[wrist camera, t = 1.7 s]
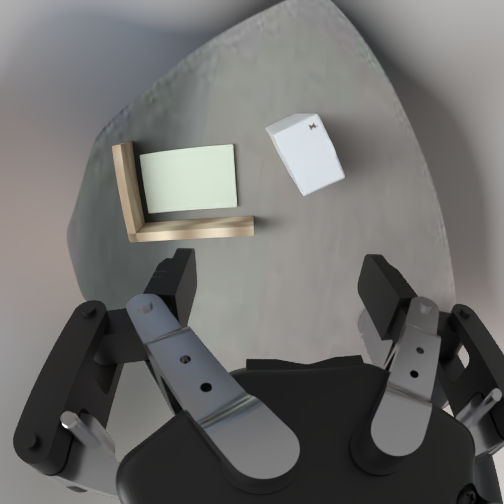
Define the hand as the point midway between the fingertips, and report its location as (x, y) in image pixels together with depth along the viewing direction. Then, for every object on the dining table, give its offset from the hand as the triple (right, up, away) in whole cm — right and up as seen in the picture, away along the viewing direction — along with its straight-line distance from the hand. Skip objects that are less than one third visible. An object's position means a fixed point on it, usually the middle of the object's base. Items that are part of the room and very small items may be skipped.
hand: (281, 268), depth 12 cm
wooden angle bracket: (-9, +10, +21) cm, 25 cm away
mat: (-9, +10, +21) cm, 25 cm away
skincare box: (+3, +14, +19) cm, 24 cm away
